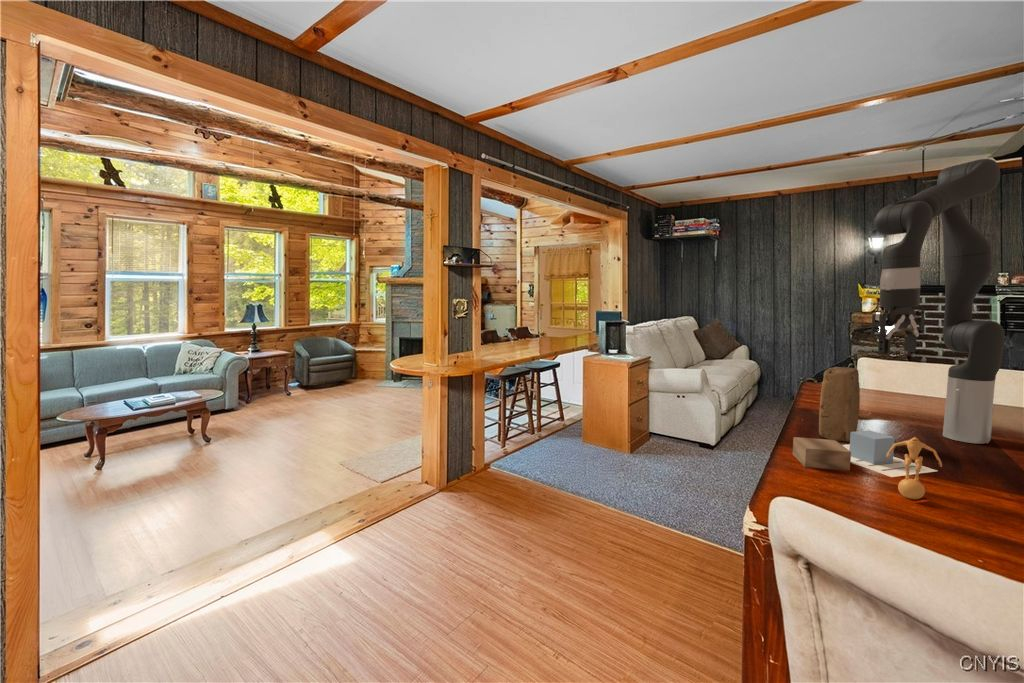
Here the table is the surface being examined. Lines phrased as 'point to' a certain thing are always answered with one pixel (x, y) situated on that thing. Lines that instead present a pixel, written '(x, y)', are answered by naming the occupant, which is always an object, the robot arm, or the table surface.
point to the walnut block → (821, 453)
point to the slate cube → (871, 446)
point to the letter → (889, 466)
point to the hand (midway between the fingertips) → (897, 352)
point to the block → (839, 403)
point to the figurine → (913, 486)
